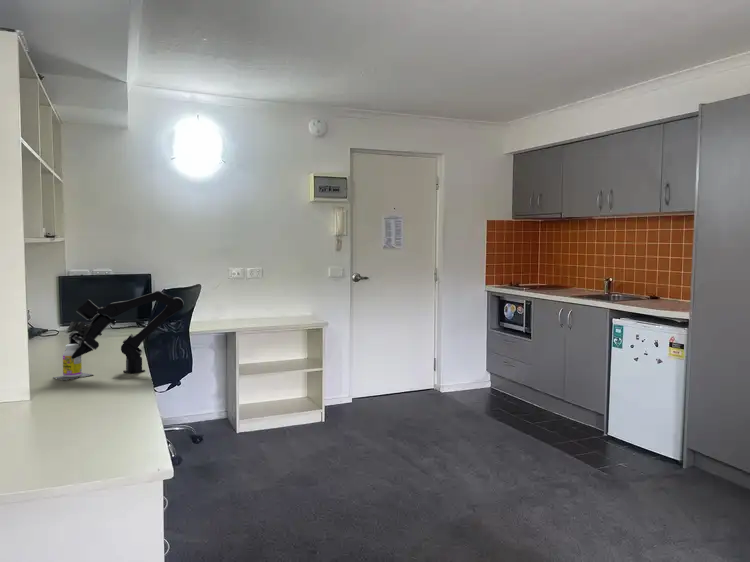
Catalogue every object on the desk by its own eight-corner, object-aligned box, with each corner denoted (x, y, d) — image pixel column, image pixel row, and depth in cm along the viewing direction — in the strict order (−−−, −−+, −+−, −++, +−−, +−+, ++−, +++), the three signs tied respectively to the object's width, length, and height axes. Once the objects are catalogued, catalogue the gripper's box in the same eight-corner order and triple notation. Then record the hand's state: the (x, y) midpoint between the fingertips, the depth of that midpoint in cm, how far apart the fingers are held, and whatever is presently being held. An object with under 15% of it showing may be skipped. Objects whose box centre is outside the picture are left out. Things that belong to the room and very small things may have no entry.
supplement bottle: (59, 376, 225) (58, 345, 224) (74, 374, 231) (74, 343, 230) (69, 378, 222) (69, 346, 221) (85, 375, 227) (84, 344, 227)
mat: (93, 375, 230) (93, 374, 230) (64, 380, 219) (64, 379, 219) (81, 373, 234) (81, 372, 234) (53, 378, 223) (53, 377, 223)
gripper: (73, 312, 234) (44, 341, 227) (90, 316, 221) (60, 346, 214) (93, 329, 240) (66, 358, 233) (110, 334, 227) (82, 364, 220)
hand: (68, 356), depth 225 cm, fingers open, 9 cm apart
